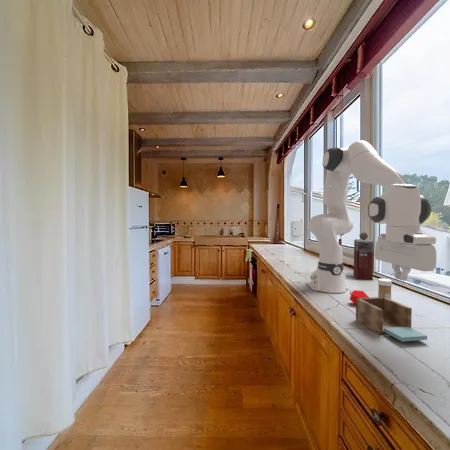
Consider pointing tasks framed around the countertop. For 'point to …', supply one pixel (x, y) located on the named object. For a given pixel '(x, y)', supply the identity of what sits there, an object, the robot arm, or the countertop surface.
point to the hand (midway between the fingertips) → (400, 279)
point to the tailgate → (405, 334)
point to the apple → (357, 295)
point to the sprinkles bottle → (384, 288)
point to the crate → (382, 314)
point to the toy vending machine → (363, 258)
